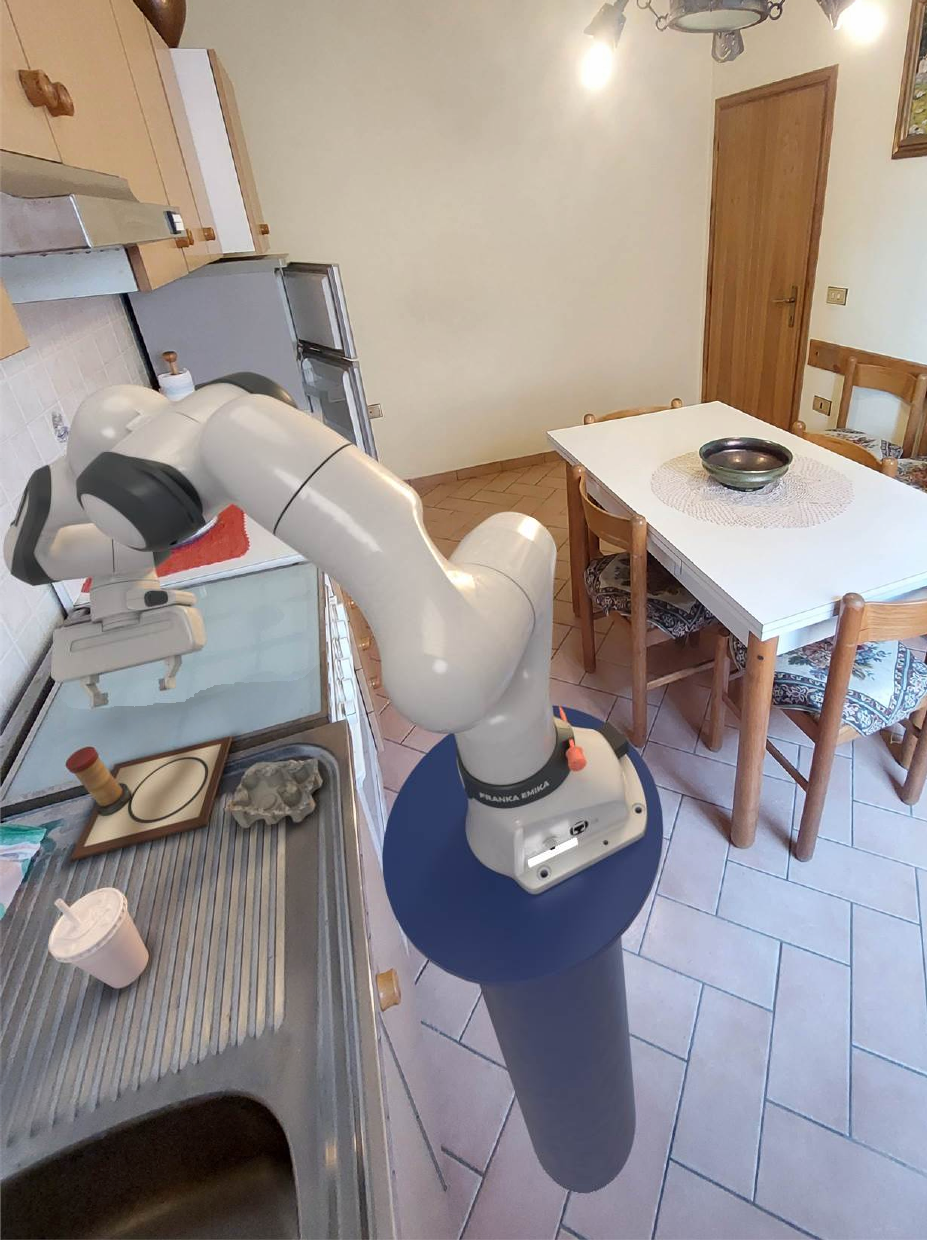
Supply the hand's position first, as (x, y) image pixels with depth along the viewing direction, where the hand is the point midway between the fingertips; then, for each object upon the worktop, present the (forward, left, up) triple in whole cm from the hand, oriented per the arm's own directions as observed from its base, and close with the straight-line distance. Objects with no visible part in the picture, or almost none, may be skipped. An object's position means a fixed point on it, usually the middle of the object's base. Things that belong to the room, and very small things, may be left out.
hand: (134, 698), depth 89 cm
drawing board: (-5, +12, -7) cm, 15 cm away
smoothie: (-9, +34, -7) cm, 36 cm away
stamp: (+1, +12, -7) cm, 14 cm away
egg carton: (-22, +18, -7) cm, 29 cm away
